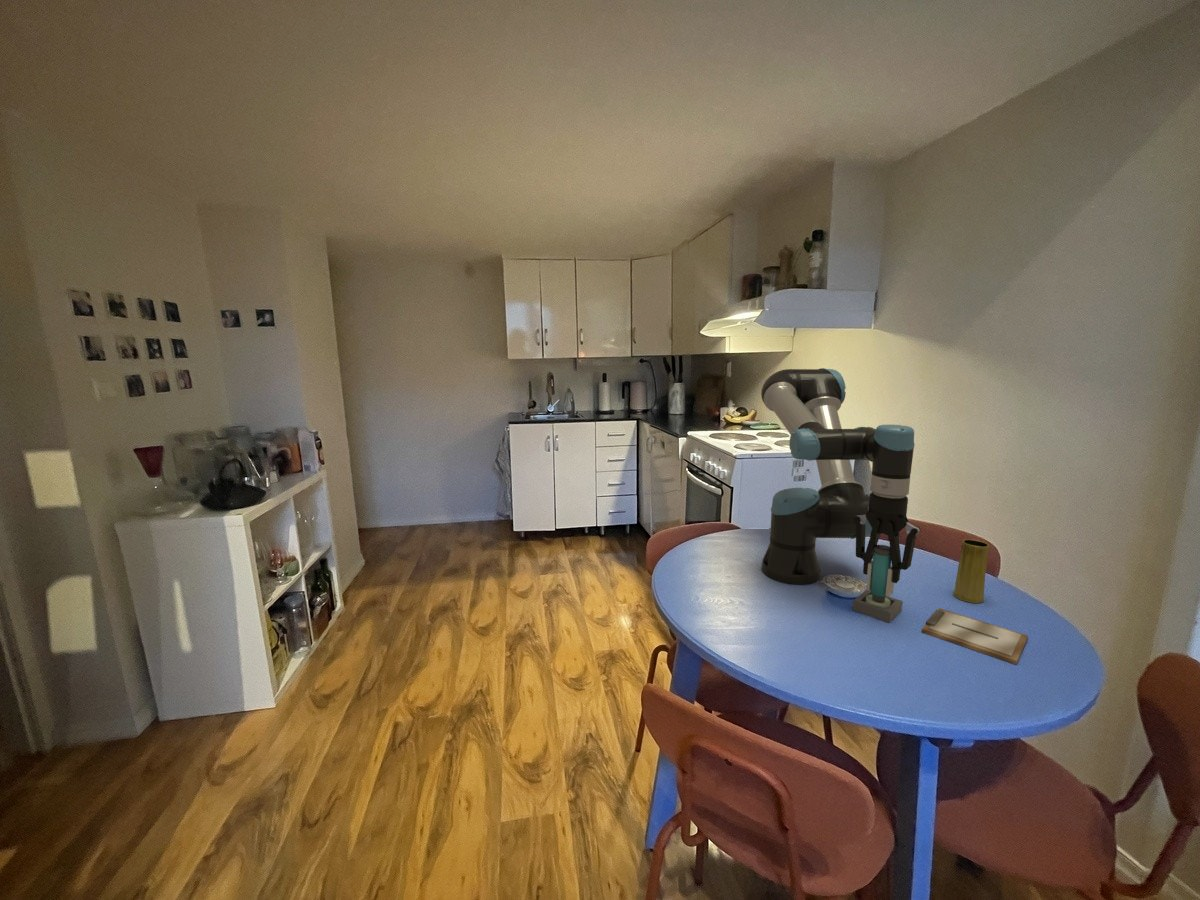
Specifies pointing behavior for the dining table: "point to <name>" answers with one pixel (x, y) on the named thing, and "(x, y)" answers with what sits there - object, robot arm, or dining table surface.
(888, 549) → the marker
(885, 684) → the dining table surface
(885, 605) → the button
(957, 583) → the vase
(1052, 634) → the dining table surface
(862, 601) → the button frame
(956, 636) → the drawing board
